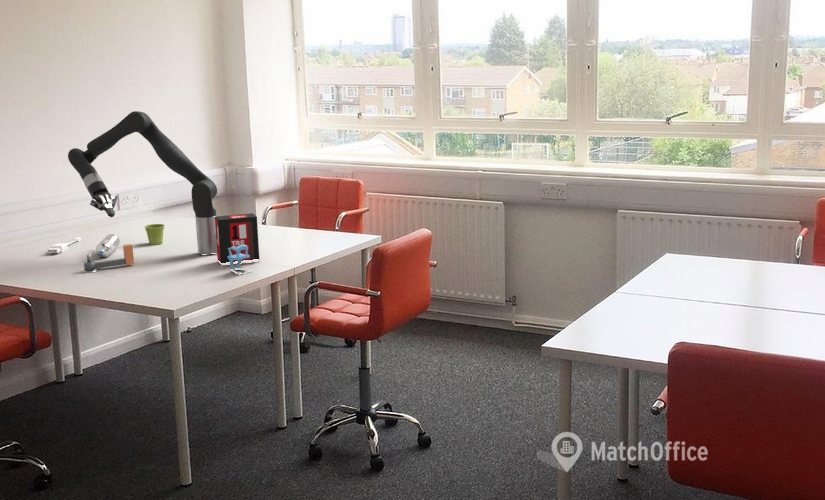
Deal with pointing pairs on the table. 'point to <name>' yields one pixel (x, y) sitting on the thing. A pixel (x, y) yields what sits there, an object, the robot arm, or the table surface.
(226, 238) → the black and red box
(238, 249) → the chair
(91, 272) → the pivot base
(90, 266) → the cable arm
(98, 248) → the water bottle
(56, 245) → the charging cable
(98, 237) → the table surface
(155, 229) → the plant pot
